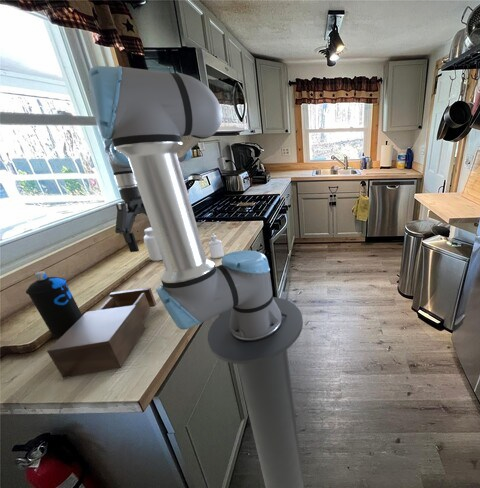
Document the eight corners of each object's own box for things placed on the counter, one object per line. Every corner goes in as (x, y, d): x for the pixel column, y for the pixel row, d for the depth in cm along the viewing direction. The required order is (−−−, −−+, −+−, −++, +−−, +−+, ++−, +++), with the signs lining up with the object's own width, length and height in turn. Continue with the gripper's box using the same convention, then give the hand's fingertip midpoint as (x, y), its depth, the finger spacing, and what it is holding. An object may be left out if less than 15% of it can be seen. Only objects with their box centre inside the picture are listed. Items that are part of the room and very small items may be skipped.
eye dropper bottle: (221, 258, 122) (216, 235, 117) (210, 258, 123) (204, 235, 118) (225, 254, 126) (220, 231, 121) (215, 254, 127) (209, 231, 122)
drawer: (124, 302, 90) (117, 285, 88) (160, 297, 92) (155, 280, 90) (94, 338, 74) (84, 319, 72) (139, 331, 76) (131, 312, 74)
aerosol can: (45, 342, 75) (9, 283, 67) (60, 324, 82) (29, 269, 74) (80, 333, 78) (50, 276, 70) (91, 317, 85) (65, 263, 77)
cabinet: (98, 335, 77) (86, 311, 73) (145, 328, 79) (136, 304, 75) (63, 378, 63) (46, 351, 60) (121, 367, 66) (108, 341, 62)
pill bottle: (156, 262, 121) (146, 232, 115) (147, 259, 124) (136, 230, 118) (172, 256, 127) (164, 227, 121) (163, 252, 131) (154, 224, 125)
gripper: (149, 186, 101) (165, 238, 107) (85, 191, 78) (110, 257, 83) (166, 184, 100) (181, 236, 106) (107, 188, 76) (130, 255, 82)
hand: (150, 246), depth 94 cm, fingers open, 13 cm apart
